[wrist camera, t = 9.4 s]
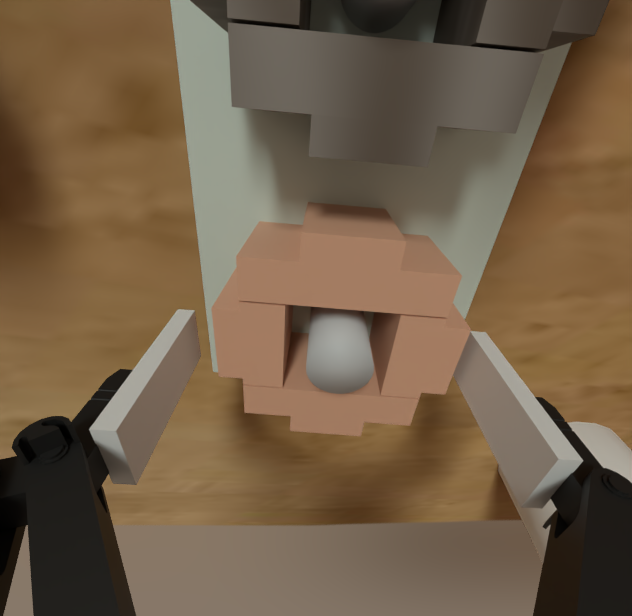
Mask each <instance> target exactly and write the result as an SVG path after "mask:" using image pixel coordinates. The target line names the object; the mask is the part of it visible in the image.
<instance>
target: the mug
mask: <svg viewBox="0 0 632 616" xmlns="http://www.w3.org/2000/svg"><path fill="white" fill-rule="evenodd" d="M568 425H569V426H570V427H571V428H572V431H574V432H575V433H576V435H577V436H578V437H579V438H580V440H581V441H582V442H583V443H584V445H585V446H586V447H587V448H588V449H589V451H590V452H591V453H592V454H593V456H594V457H595V458H596V459H597V461H598V462H599V463H600V464H601V466H602V467H603V468H607V469H610V470H612V471H615V472H617V473H619V474H620V475H622V476H623V477H625V478H626V479H628V480H629V481H630V482H631V483H632V451H631V450H630V449H629V448H628V446H627V445H626V444H625V443H624V442H623V441H622V440H621V439H620V438H619V437H618V436H617V435H616V434H615V433H614V432H613V431H612V430H611V429H610V428H607V427H604V426H601V425H599V424H596V423H585V422H571V423H568ZM498 472H499V474H500V476H501V478H502V480H503V482H504V484H505V486H506V488H507V491H508V493H509V495H510V497H511V499H512V501H513V503H514V505H515V507H516V509H517V511H518V513H519V515H520V517H521V519H522V521H523V524H524V525H525V528H526V530H527V532H528V534H529V536H530V538H531V540H532V542H533V544H534V546H535V548H536V550H537V552H538V555H539V556H540V559H541V561H542V563H543V562H544V556H545V551H546V546H547V541H548V536H549V531H550V526H551V525H549V526H548V528H547V529H545V528H543V527H542V526H543V525H544V523H545V522H546V521H547V520H548V518H549V517H550V516H551V515H552V514H553V513H554V512H555V511H556V510H557V509H556V507H555V505H554V504H553V502H552V500H551V499H550V500H549V501H548V502H547V504H546V505H545V506H544V507H543V508H542V509H540V508H523V507H520V505H519V503H518V501H517V499H516V497H515V495H514V493H513V491H512V490H511V488H510V486H509V484H508V482H507V480H506V478H505V476H504V474H503V472H502V470H501V468H500V466H499V465H498Z"/></svg>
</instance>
